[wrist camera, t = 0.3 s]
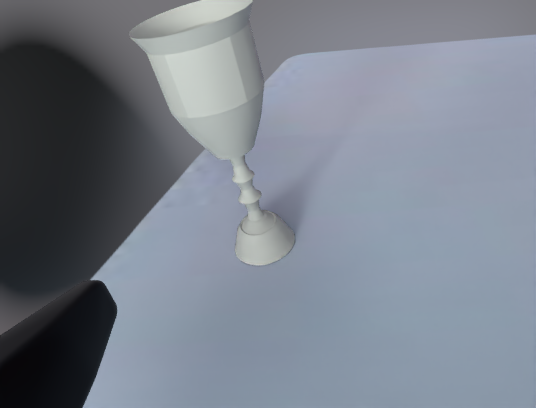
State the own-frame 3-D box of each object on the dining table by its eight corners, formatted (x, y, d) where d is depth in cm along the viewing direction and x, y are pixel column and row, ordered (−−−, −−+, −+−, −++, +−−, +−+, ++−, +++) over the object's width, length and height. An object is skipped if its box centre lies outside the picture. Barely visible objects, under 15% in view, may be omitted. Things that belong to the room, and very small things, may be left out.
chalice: (223, 284, 32) (119, 50, 21) (220, 227, 37) (136, 19, 26) (316, 259, 31) (260, 10, 21) (299, 206, 37) (248, -13, 26)
